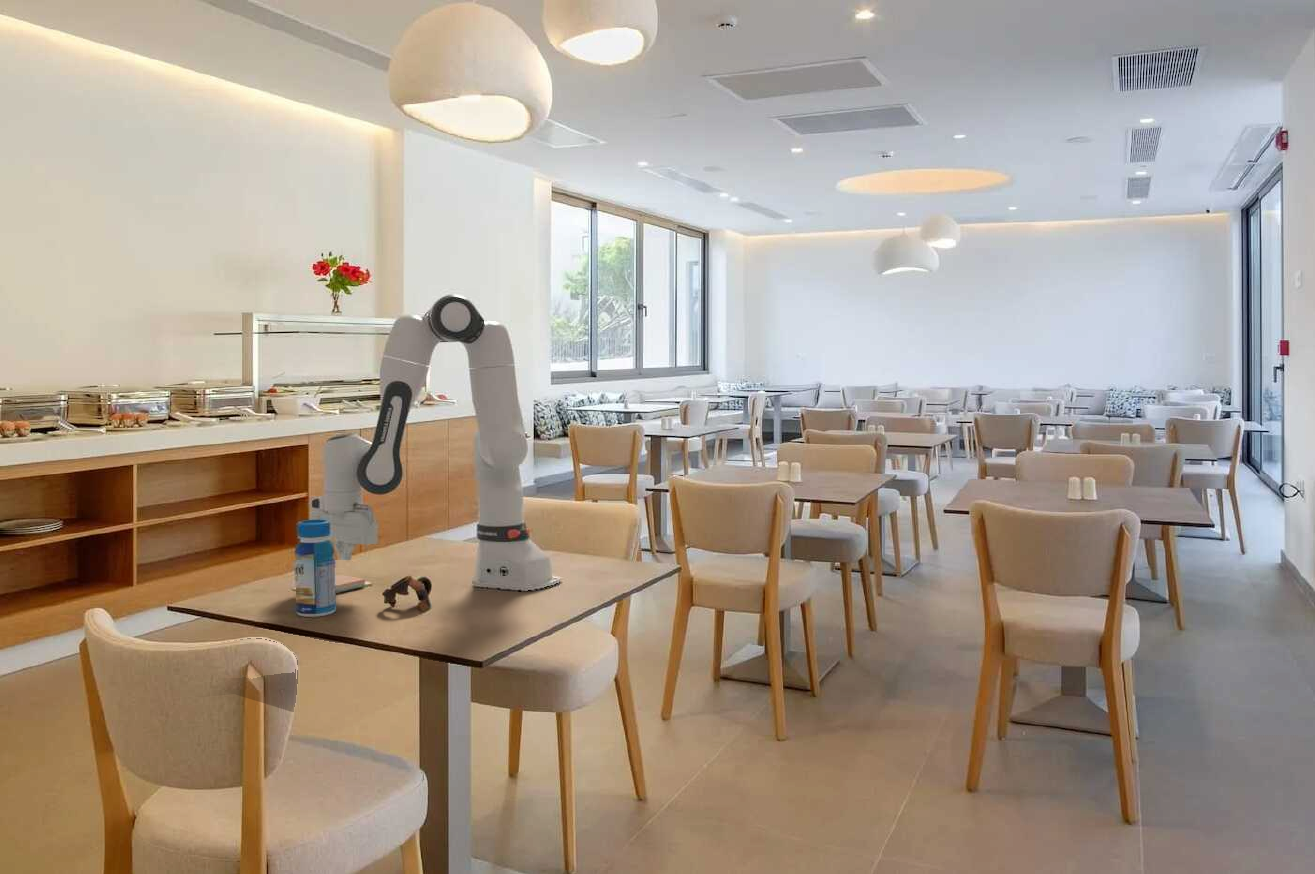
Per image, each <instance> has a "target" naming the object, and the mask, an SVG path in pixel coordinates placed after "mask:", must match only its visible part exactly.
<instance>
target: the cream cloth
mask: <svg viewBox="0 0 1315 874" xmlns="http://www.w3.org/2000/svg"><path fill="white" fill-rule="evenodd" d="M373 584H374V582H369V581H365V586H362V587H358V588H353V589H349V590H345V591H341V592H335V595H336V594H338V593H344V592H349V591H352V590H356V589H360V588H364V587H365V588H366V587H368V586H373ZM293 590H294V591H296V586H295V587H292V591H293Z"/></svg>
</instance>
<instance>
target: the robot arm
mask: <svg viewBox="0 0 1315 874" xmlns="http://www.w3.org/2000/svg"><path fill="white" fill-rule="evenodd" d="M439 343H460V344H462V345H463V346H464V348H465V350H466V354H467V359H468V368H469V369H468V371H469V382H470V388H471V389H470V390H471V399H472V400H471V401H472V404H473V408H474V412H475V417H476V418H475V419H476V423H477V428H478V429H477V430H476V432H475V435H474V437H473V456H474V458H473V459H474V468H475V477H476V487H477V503H478V505H477V506H478V509H477V510H478V511H477V512H478V513H477V514H478V515H477V516H478V523H477V524H476V538H477V540H478V545H477V554H476V564H475V570H474V574H473V578H472V581H473V585H474V586H473V587H477V588H487V587H488V589H497V588H500V589H499V590H507V589H508V590H509V589H510V590H509V591H518V590H521V592H529V591H528V590H532V591H536V590H535V589H538V590H540V589H539V588H543V589H545V588H544V587H547V586H550V585H552V584H555V583H558V584H560V583H561V582H562V581H561V580H562V577H561V576H558V575H555V574H553V570H552V563H551V560H550V556H548V555H547V554H546V553H545V552H544V551H543V550H542V549H541V548H540V547H539V546H538V545H537V544H535V543H534V541H532V539H531V538H530V537H531V536H530V533H532V532H533V530H531V529H533V526H532V527H531V526H530V527H527V524H526V522H525V521H524V519H525V518H524V490H523V486H522V484H523V483H522V478H521V473H520V472H521V470H520V465H521V464H522V463H523V462H524V461H525V459H526V458H527V455H528V451H529V448H528V440H527V437H526V436H527V435H526V431H525V423H524V419H523V415H522V410H521V404H520V401H519V395H518V387H517V386H518V383H517V377H516V376H517V375H516V365H515V357H514V351H513V347H512V345H513V344H512V342H511V337H510V336H509V332H508V329H507V327H506V326H505V325H504V324H502V323H499V322H498V321H493V320H485V319H484V318H483V316H482V315H481V313H480V312H479V311H478V309H477V307H476V306H475V305H474V304H473V303H472V302H471V301H470V299H468V298H466V297H465V296H463V295H461V294H460V295H459V294H448V295H445V296H442V297H440V298H439V299H437V300H436V301H435V302H434V303H433V304H432V305H431V307H430V309H429V310H428V311H427V312H426V313H425V314H424V315H416V314H404V315H401V316H399V317H398V318H396V319H395V321H394V323H393V326H392V327H391V330H390V332H389V334H388V337H387V340H386V342H385V345H384V349H383V353H382V358H381V362H380V367H379V383H378V385H379V394H380V396H379V397H380V406H379V408H380V409H379V414H378V418H377V421H376V422H377V423H376V427H375V430H374V433H373V434H374V435H373V439H372V441H371V442H370V441H369V440H366V439H364V438H363V437H361V436H360V435H359V434H357V433H352V432H351V433H343V434H342V433H341V434H338V435H334V436H331V437H330V438H329V439H327V440H326V441H325V443H324V445H323V449H322V450H323V451H322V474H323V477H324V484H323V487H322V488H323V489H322V493H323V494H322V495H319V496H317V497H313V498H312V499H310V500H309V508H310V509H311V511H310V514H309V520H315V519H322V520H328V521H329V522H330V536H329V537H327V538H328V540H329V541H333V548H334V550H335V551H336V554H337V559H338V560H340V561H351V560H352V557H353V556H352V552H353V551H354V549H355V546H356V545H362V546H369V545H370V546H371V545H374V544H376V543H377V541H378V537H379V536H378V534H379V533H378V527H377V519H376V516H375V513H374V510H373V509H372V508H371V507H370V506H371V505H368V504H364V503H363V502H364V501H363V490H364V491H366V492H369V493H370V494H373V495H379V496H380V495H387V494H389V493H391V492H393V491H394V490H396V489H397V488H398V487H399V485H400V483H401V481H402V479H403V473H404V472H403V465H402V460H401V457H400V456H401V455H400V452H401V446H402V442H403V436H404V432H405V428H406V424H407V420H408V417H409V413H410V412H411V409H412V407H413V405H414V403H415V402H416V400H417V398H418V397H419V395H420V393H421V391H422V389H423V386H424V385H425V381H426V379H427V377H428V372H429V370H430V364H431V360H432V356H433V354H434V353H433V352H434V350H435V348H436V346H437V345H438V344H439ZM559 582H560V583H559ZM550 587H551V586H550ZM547 588H548V587H547Z"/></svg>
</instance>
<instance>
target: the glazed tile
mask: <svg viewBox="0 0 1315 874" xmlns="http://www.w3.org/2000/svg"><path fill="white" fill-rule="evenodd" d="M365 582H366V579H365V578H360V577H355V576H349V575H345V574H338V575H335V592H340V593H342V592H341V591H344V592H346V591H345V590H348V591H350V590H349V589H352V590H354V589H353V588H357V589H359V588H358V587H361V588H363V587H362V586H365ZM365 587H366V586H365Z"/></svg>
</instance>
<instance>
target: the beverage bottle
mask: <svg viewBox="0 0 1315 874" xmlns="http://www.w3.org/2000/svg"><path fill="white" fill-rule="evenodd" d="M296 533H297V534H296V535H297V538H298V539H300V540H299V542H298V543H297V545H296V547H295V549H294V554H293V556H294V558H295V562H294V563H293V569H294V576H295V578H294V579H295V581H294V582H295V587H296V590H295V603H296V607H295V612H296V614H297V615H298V616H300V617H305V618H319V617H324V616H325V617H326V616H329V615H332V614H333V613H335V612H336V610H337V603H336V601H337V600H336V594H335V576H336V570H335V569H336V560H335V558H334V554H335V547H334V545H333V544H332V543H331V540H328V538H327V537H329V536H330V522H329V521H328V520H322V519H315V520H310V519H307V520H301V521H298V522H297V523H296Z"/></svg>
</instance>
